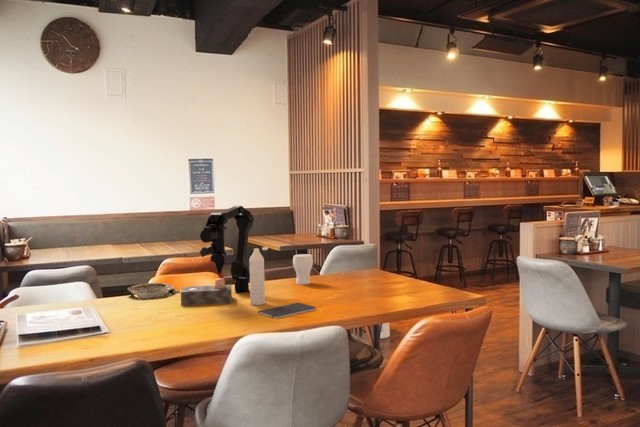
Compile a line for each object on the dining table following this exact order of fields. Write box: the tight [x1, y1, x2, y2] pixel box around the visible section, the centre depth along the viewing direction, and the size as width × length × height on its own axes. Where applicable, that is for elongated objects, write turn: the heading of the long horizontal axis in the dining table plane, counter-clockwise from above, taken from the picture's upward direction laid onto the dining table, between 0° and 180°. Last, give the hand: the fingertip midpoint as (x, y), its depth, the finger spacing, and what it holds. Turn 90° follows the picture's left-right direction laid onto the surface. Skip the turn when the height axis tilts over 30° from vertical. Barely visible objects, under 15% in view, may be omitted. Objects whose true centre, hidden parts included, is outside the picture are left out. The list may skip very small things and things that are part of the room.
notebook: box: [257, 302, 317, 320], centre depth 223 cm, size 13×2×21 cm
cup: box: [292, 253, 314, 286], centre depth 283 cm, size 11×11×15 cm
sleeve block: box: [180, 284, 233, 306], centre depth 245 cm, size 22×12×6 cm, turn 98°
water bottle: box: [248, 246, 269, 306], centre depth 238 cm, size 9×6×25 cm
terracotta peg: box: [214, 277, 226, 289], centre depth 245 cm, size 4×4×6 cm
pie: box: [127, 282, 181, 301], centre depth 264 cm, size 28×27×5 cm
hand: (219, 273), depth 245 cm, fingers closed
